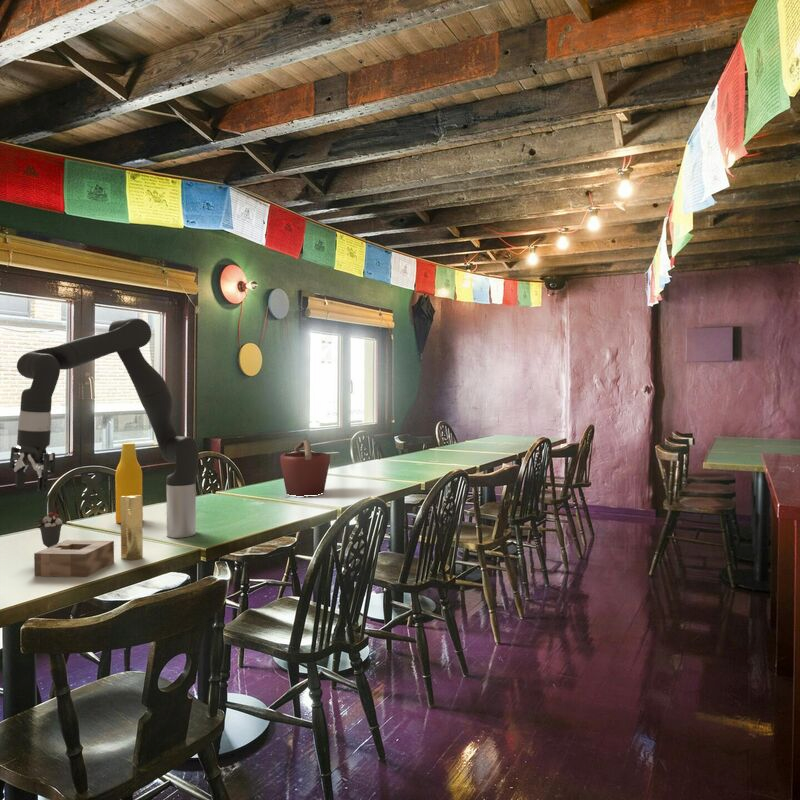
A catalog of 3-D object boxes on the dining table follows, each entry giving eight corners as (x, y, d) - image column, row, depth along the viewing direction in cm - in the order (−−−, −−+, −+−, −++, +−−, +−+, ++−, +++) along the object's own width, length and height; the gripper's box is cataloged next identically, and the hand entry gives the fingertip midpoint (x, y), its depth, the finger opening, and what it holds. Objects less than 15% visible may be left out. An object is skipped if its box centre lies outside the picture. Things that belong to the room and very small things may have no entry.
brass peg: (126, 555, 181) (125, 495, 180) (145, 556, 180) (144, 495, 180) (118, 559, 176) (117, 497, 176) (138, 560, 176) (137, 497, 175)
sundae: (68, 555, 180) (68, 505, 180) (56, 562, 174) (56, 509, 173) (46, 556, 180) (45, 505, 180) (33, 562, 174) (32, 510, 173)
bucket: (285, 490, 296) (285, 438, 295) (331, 489, 297) (331, 438, 297) (278, 499, 271) (278, 443, 271) (328, 498, 273) (328, 442, 272)
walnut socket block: (66, 560, 175) (66, 540, 175) (114, 561, 174) (113, 540, 174) (34, 575, 161) (34, 553, 161) (85, 576, 160) (85, 554, 160)
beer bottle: (132, 524, 221) (131, 444, 221) (110, 523, 223) (109, 444, 222) (148, 519, 230) (147, 442, 230) (126, 518, 232) (125, 442, 231)
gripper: (66, 430, 163) (62, 490, 164) (29, 424, 169) (25, 482, 170) (40, 432, 156) (36, 494, 157) (2, 425, 162) (-2, 485, 163)
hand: (30, 488), depth 163 cm, fingers open, 8 cm apart
